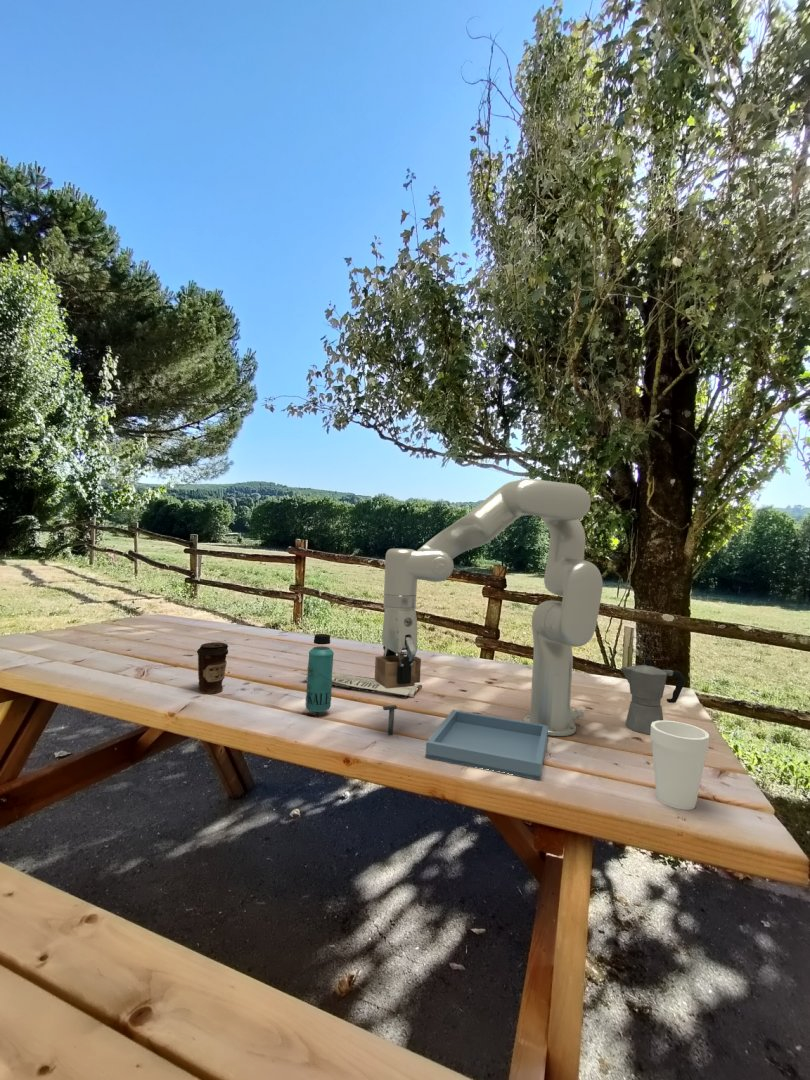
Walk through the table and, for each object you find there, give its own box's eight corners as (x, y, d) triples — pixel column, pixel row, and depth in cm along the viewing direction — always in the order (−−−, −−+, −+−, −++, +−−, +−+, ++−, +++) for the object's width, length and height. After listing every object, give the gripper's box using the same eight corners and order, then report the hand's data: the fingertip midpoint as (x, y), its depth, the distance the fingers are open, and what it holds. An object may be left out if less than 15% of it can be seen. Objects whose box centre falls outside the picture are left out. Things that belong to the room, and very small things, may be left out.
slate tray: (452, 722, 128) (453, 709, 128) (547, 739, 120) (548, 725, 120) (425, 757, 106) (426, 742, 106) (539, 780, 98) (540, 764, 98)
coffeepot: (619, 731, 128) (623, 659, 128) (614, 719, 137) (617, 652, 137) (687, 740, 124) (691, 666, 124) (677, 727, 133) (681, 658, 133)
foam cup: (639, 786, 98) (643, 718, 98) (690, 790, 98) (693, 722, 98) (659, 811, 89) (663, 737, 89) (715, 817, 88) (719, 741, 88)
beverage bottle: (318, 707, 133) (323, 631, 133) (336, 714, 129) (340, 635, 129) (299, 713, 128) (303, 633, 128) (316, 720, 124) (321, 637, 124)
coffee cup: (233, 690, 143) (236, 644, 143) (208, 697, 136) (211, 649, 136) (213, 684, 148) (216, 640, 148) (188, 691, 141) (190, 644, 141)
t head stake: (393, 732, 119) (394, 704, 119) (395, 734, 118) (396, 706, 118) (381, 734, 117) (382, 705, 117) (383, 736, 116) (385, 707, 116)
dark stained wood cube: (410, 677, 124) (411, 654, 124) (424, 685, 117) (425, 661, 117) (374, 680, 119) (375, 656, 119) (386, 688, 113) (387, 663, 113)
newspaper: (422, 690, 156) (422, 678, 156) (411, 702, 144) (412, 689, 144) (316, 676, 165) (316, 665, 165) (298, 685, 153) (298, 674, 153)
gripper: (432, 606, 112) (428, 688, 112) (398, 597, 127) (395, 668, 127) (401, 607, 109) (397, 691, 109) (370, 597, 124) (367, 670, 124)
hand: (396, 678), depth 118 cm, fingers closed on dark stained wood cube, 6 cm apart
